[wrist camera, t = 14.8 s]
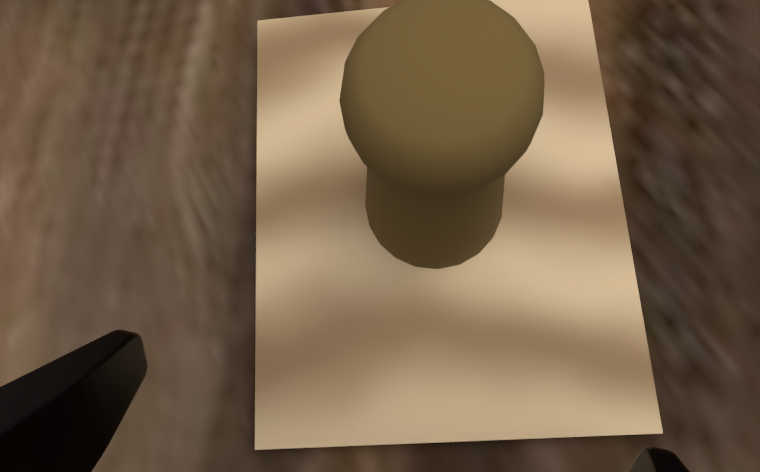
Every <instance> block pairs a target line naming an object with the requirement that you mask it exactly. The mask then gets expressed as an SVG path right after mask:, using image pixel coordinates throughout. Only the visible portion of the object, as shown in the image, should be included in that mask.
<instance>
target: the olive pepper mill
mask: <svg viewBox="0 0 760 472" xmlns="http://www.w3.org/2000/svg"><path fill="white" fill-rule="evenodd" d="M544 86H545V82H544V71H543V67H542V64H541V61H540V58H539V55H538V51H537V48H536V45H535V44H534V43H533V41H532V40H531V39H530V37H529V36H528V35H527V33H526V32H525V31H524V29H523V28H522V27H521V25H520V24H519V23H518V21H517V20H516V19H515V18H514V17H513V16H512V15H510V14H509V13H507V12H506V11H505V10H503V9H502V8H500V7H499V6H497V5H496V4H495V3H493V2H492V1H490V0H402V1H400V2H398V3H397V4H395V5H393V6H391V7H389V8H387V9H386V10H384V11H383V12H382V13H381V14H380V15H379V16H378V17H377V18H376V19H375V20H374V21H373V22H372V23H371V24H370V25H369V26H368V27H367V28H366V29H365V30H364V31H363V32H362V33H361V34H360V35H359V36H358V37H357V39H356V41H355V43H354V45H353V47H352V49H351V51H350V53H349V55H348V57H347V59H346V61H345V65H344V72H343V79H342V86H341V92H340V99H339V102H340V107H341V112H342V117H343V122H344V127H345V131H346V133H347V136H348V138H349V140H350V142H351V143H352V145H353V147H354V148H355V150H356V152H357V153H358V155H359V157H360V158H361V160H362V162H363V163H364V164H365V165H366V166H367V179H366V201H365V207H366V212H367V217H368V222H369V226H370V228H371V230H372V231H373V233H374V235H375V237H376V238H377V240H378V242H379V243H380V245H382V246H383V247H384V248H385V249H386V250H387V251H388V252H389V253H391V254H392V255H393V256H394V257H395V258H397V259H399V260H401V261H404V262H406V263H408V264H410V265H413V266H415V267H422V268H432V269H441V268H446V267H451V266H455V265H460V264H462V263H463V262H465V261H467V260H469V259H470V258H472V257H474V256H476V255H477V254H479V253H480V252H481V251H482V250H483V248H484V247H485V246H486V245H487V244H488V243H489V242H490V241H491V239H492V238H493V237H494V235H495V232H496V230H497V228H498V225H499V223H500V220H501V218H502V207H503V194H504V182H505V174H506V173H507V172H508V171H509V170H510V169H511V168H512V167H513V165H514V164H515V163H516V162H517V161H518V160H519V159H520V158H521V157H522V156H523V154H524V153H525V152H526V151H527V149H528V147H529V145H530V144H531V142H532V139H533V137H534V134H535V132H536V130H537V127H538V125H539V123H540V120H541V118H542V116H543V105H544Z"/></svg>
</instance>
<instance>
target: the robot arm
mask: <svg viewBox="0 0 760 472" xmlns="http://www.w3.org/2000/svg"><path fill="white" fill-rule="evenodd" d="M146 372H147V359H146V355H145V351H144V346H143V342H142V338H141V336H140V335H139V334H137V333H134V332H130V331H125V330H115V331H113V332H110V333H108V334H106V335H104V336H102V337H100V338H98V339H96V340H94V341H92V342H90V343H88V344H86V345H84V346H82V347H80V348H78V349H76V350H74V351H72V352H70V353H68V354H66V355H64V356H62V357H60V358H58V359H56V360H54V361H52V362H50V363H48V364H46V365H44V366H42V367H40V368H38V369H36V370H34V371H32V372H30V373H28V374H26V375H24V376H22V377H20V378H18V379H16V380H14V381H12V382H10V383H8V384H6V385H4V386H2V387H0V472H91V471H92V470H93V468H94V467H95V465H96V464H97V462H98V461H99V459H100V458H101V456H102V454H103V453H104V451H105V450H106V448H107V446H108V444H109V443H110V441H111V439H112V437H113V435H114V434H115V432H116V430H117V428H118V426H119V424H120V422H121V420H122V419H123V417H124V415H125V413H126V411H127V409H128V407H129V406H130V404H131V402H132V400H133V398H134V396H135V394H136V392H137V391H138V389H139V387H140V385H141V383H142V381H143V379H144V377H145V375H146ZM628 472H689V470H688V469H687V468H686V467H685V466H684V464H683V463H682V462H681V461H680V459H679V458H678V457H677V456H676V455H675V454H674V453H673V452H671V451H669V450H665V449H660V448H656V447H651V446H646V447H644V448H642V450H641V451H640V453H639V454H638V456H637V458H636V459H635V461H634V463H633V464H632V466H631V468H630V469H629V471H628Z"/></svg>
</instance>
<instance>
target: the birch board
mask: <svg viewBox="0 0 760 472" xmlns="http://www.w3.org/2000/svg"><path fill="white" fill-rule="evenodd" d="M490 1H492V2H493V3H495V4H496V5H497V6H499V7H500V8H502V9H503V10H505V11H506V12H507V13H509V14H510V15H512V16H513V17H514V18H515V19H516V20H517V21H518V23H519V24H520V25H521V27H522V28H523V29H524V31H525V32H526V33H527V35H528V36H529V37H530V39H531V40H532V41H533V43H534V44H535V45H536V48H537V51H538V55H539V58H540V61H541V64H542V67H543V71H544V82H545V86H544V105H543V116H542V118H541V120H540V123H539V125H538V127H537V130H536V132H535V134H534V137H533V139H532V142H531V144H530V145H529V147H528V149H527V151H526V152H525V153H524V154H523V156H522V157H521V158H520V159H519V160H518V161H517V162H516V163H515V164H514V165H513V167H512V168H511V169H510V170H509V171H508V172H507V173H506V174H505V182H504V194H503V207H502V218H501V220H500V223H499V225H498V228H497V230H496V232H495V235H494V237H493V238H492V239H491V241H490V242H489V243H488V244H487V245H486V246H485V247H484V248H483V250H482V251H481V252H480V253H479V254H477V255H476V256H474V257H472V258H470V259H469V260H467V261H465V262H463V263H462V264H460V265H455V266H451V267H446V268H441V269H432V268H422V267H415V266H413V265H410V264H408V263H406V262H404V261H401V260H399V259H397V258H395V257H394V256H393V255H392V254H391V253H389V252H388V251H387V250H386V249H385V248H384V247H383V246H382V245H380V243H379V242H378V240H377V238H376V237H375V235H374V233H373V231H372V230H371V228H370V226H369V222H368V217H367V212H366V207H365V201H366V179H367V166H366V165H365V164H364V163H363V162H362V160H361V158H360V157H359V155H358V153H357V152H356V150H355V148H354V147H353V145H352V143H351V142H350V140H349V138H348V136H347V133H346V131H345V127H344V122H343V117H342V112H341V107H340V102H339V99H340V92H341V86H342V79H343V72H344V65H345V61H346V59H347V57H348V55H349V53H350V51H351V49H352V47H353V45H354V43H355V41H356V39H357V37H358V36H359V35H360V34H361V33H362V32H363V31H364V30H365V29H366V28H367V27H368V26H369V25H370V24H371V23H372V22H373V21H374V20H375V19H376V18H377V17H378V16H379V15H380V14H381V13H382V12H383V11H384V10H386V9H387V8H389V7H387V8H377V9H367V10H357V11H347V12H338V13H328V14H318V15H308V16H298V17H289V18H279V19H269V20H259V21H258V36H257V190H256V343H255V450H264V449H289V448H314V447H338V446H363V445H388V444H412V443H437V442H462V441H487V440H511V439H536V438H561V437H586V436H610V435H635V434H660V433H663V431H662V425H661V419H660V413H659V407H658V402H657V396H656V390H655V384H654V379H653V373H652V367H651V361H650V355H649V350H648V344H647V338H646V332H645V326H644V321H643V315H642V309H641V303H640V298H639V292H638V286H637V280H636V274H635V269H634V263H633V257H632V251H631V245H630V240H629V234H628V228H627V222H626V217H625V211H624V205H623V199H622V193H621V188H620V182H619V176H618V170H617V164H616V159H615V153H614V147H613V141H612V136H611V130H610V124H609V118H608V112H607V107H606V101H605V95H604V89H603V84H602V78H601V72H600V66H599V60H598V55H597V49H596V43H595V37H594V31H593V26H592V20H591V14H590V8H589V3H588V0H490Z"/></svg>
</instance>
